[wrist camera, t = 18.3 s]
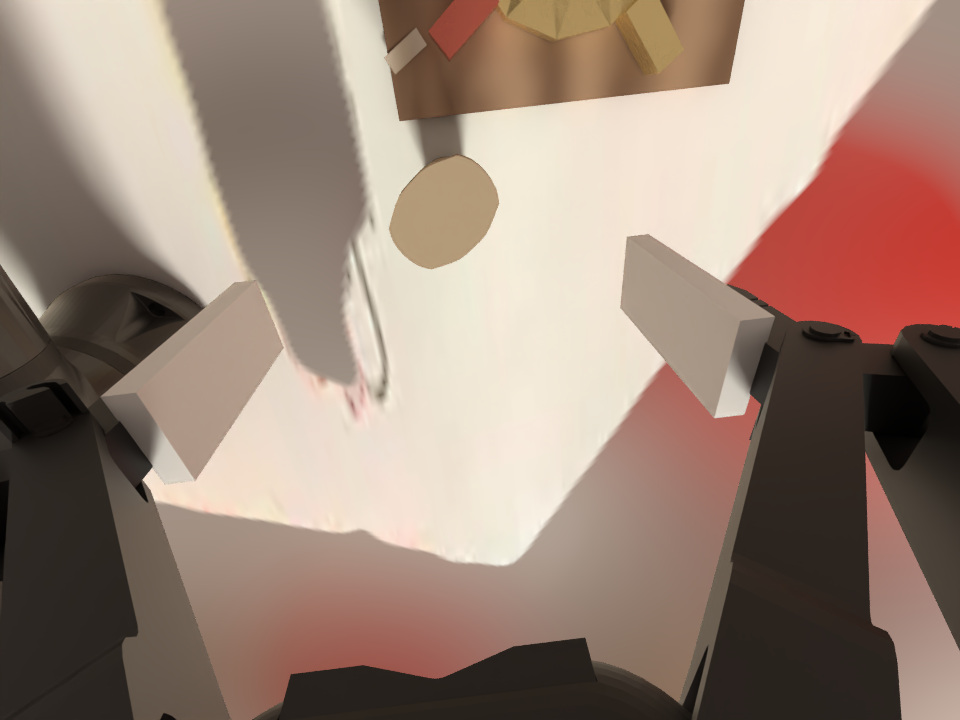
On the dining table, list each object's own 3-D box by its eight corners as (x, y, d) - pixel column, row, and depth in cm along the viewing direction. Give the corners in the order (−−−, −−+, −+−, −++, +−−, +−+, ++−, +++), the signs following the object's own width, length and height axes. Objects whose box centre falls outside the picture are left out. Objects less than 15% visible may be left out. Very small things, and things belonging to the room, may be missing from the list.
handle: (400, 183, 36) (371, 225, 23) (453, 124, 34) (453, 135, 21) (440, 224, 38) (435, 284, 25) (492, 171, 36) (515, 207, 23)
